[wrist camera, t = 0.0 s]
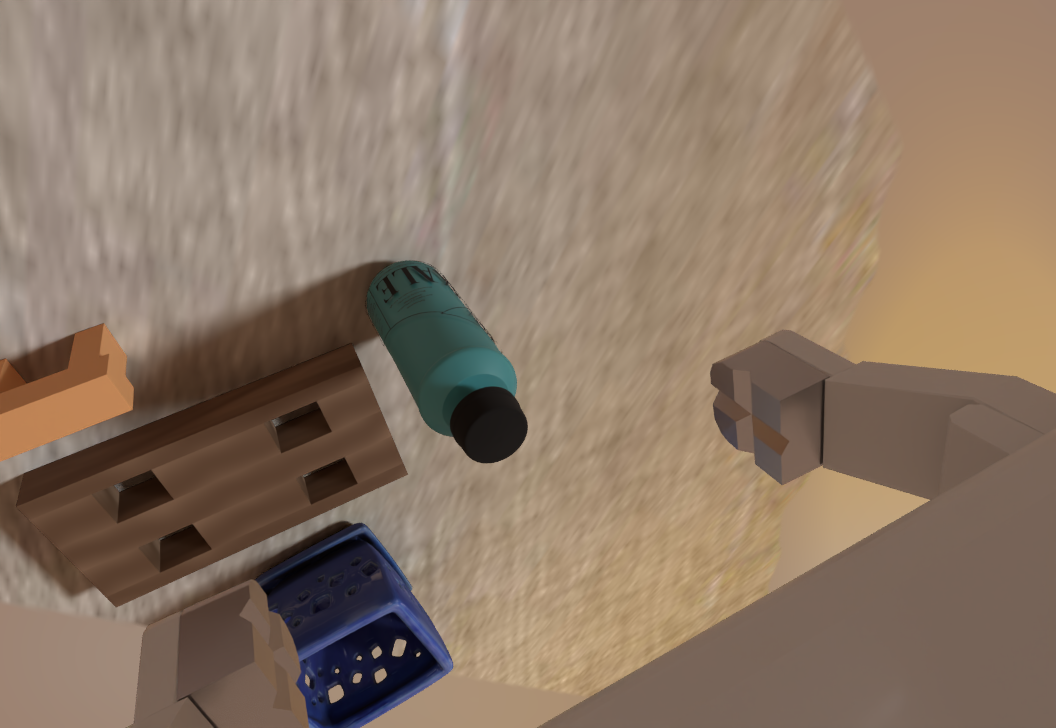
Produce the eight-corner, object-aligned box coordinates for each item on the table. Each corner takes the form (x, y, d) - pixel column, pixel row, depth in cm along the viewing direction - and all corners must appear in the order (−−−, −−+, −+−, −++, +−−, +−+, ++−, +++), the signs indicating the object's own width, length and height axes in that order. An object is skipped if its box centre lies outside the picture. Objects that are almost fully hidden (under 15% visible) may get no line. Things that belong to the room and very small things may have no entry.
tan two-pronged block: (-6, 406, 44) (-29, 472, 38) (-36, 373, 42) (-64, 438, 37) (135, 353, 46) (132, 409, 40) (113, 319, 44) (106, 374, 39)
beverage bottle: (399, 340, 54) (493, 503, 39) (338, 292, 50) (416, 455, 35) (457, 283, 54) (573, 426, 38) (400, 230, 49) (506, 367, 34)
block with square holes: (24, 473, 47) (15, 506, 44) (351, 343, 52) (361, 365, 50) (118, 573, 54) (116, 607, 51) (397, 449, 60) (407, 474, 57)
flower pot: (303, 642, 67) (324, 754, 58) (228, 572, 59) (241, 690, 50) (420, 573, 69) (459, 670, 60) (365, 496, 61) (401, 596, 52)
